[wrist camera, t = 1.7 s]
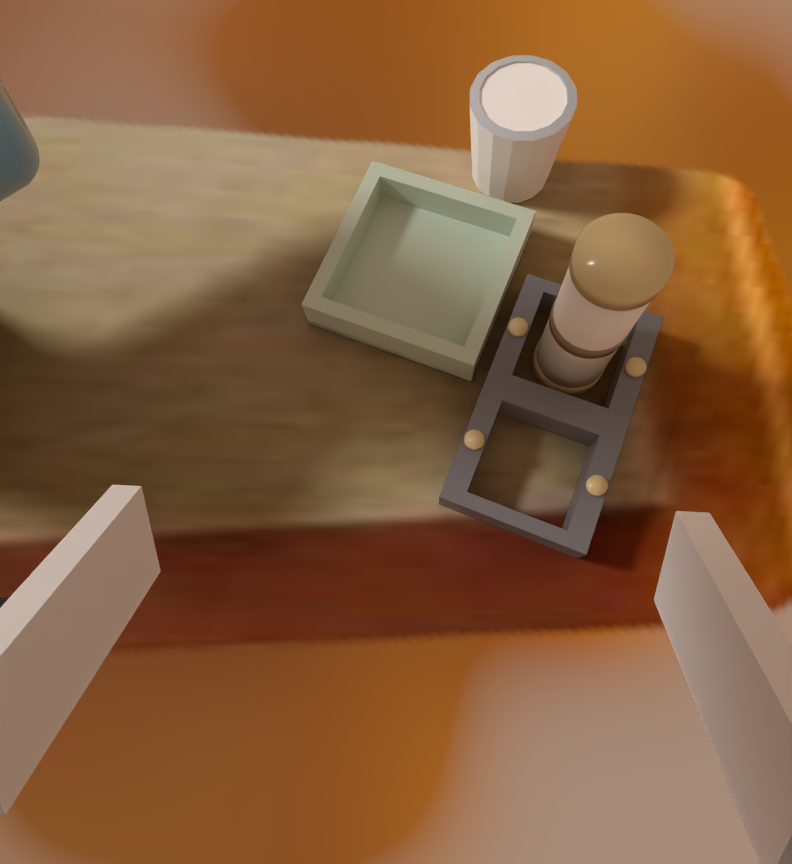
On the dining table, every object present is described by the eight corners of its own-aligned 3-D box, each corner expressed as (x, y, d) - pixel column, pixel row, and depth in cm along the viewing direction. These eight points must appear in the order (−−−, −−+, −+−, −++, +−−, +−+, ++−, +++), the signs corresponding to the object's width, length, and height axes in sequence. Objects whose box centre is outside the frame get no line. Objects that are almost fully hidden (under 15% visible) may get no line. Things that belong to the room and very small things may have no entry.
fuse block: (438, 504, 39) (439, 495, 37) (522, 292, 43) (528, 270, 41) (576, 558, 38) (588, 553, 35) (650, 334, 42) (665, 314, 39)
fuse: (522, 382, 41) (561, 280, 29) (544, 323, 43) (591, 201, 30) (589, 405, 41) (659, 311, 28) (610, 345, 42) (686, 229, 29)
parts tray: (309, 323, 44) (301, 304, 41) (375, 186, 46) (372, 160, 44) (471, 381, 42) (473, 365, 39) (529, 235, 45) (536, 210, 42)
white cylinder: (563, 140, 47) (586, 61, 40) (548, 217, 45) (568, 147, 38) (473, 126, 48) (480, 46, 41) (454, 201, 46) (458, 130, 39)
